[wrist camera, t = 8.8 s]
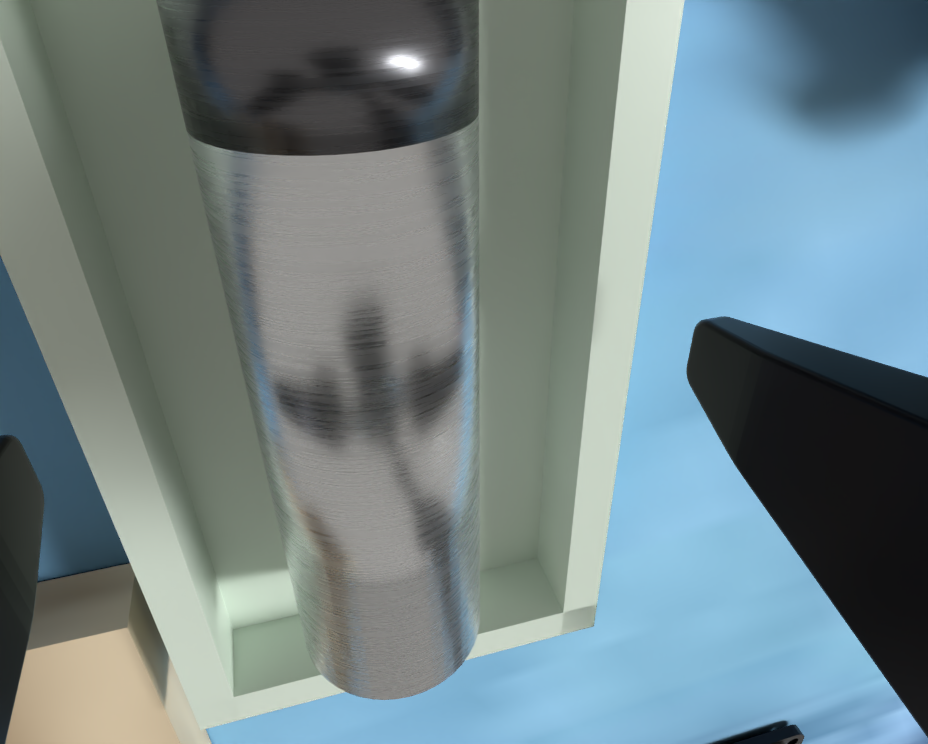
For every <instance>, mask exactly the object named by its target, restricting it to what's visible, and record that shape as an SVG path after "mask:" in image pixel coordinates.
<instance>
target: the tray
mask: <svg viewBox="0 0 928 744" xmlns="http://www.w3.org/2000/svg"><path fill="white" fill-rule="evenodd" d="M683 6H684V0H479V380H480V623H479V630H478V635H477V638H476V641H475V644H474V646H473V648H472V650H471V652H470V654H469V655H468V657H467V658H466V660H468V659H472V658H476V657H479V656H483V655H487V654H491V653H494V652H498V651H502V650H506V649H510V648H513V647H517V646H521V645H525V644H528V643H532V642H536V641H540V640H544V639H547V638H551V637H555V636H559V635H562V634H566V633H570V632H574V631H578V630H581V629H585V628H589V627H593V626H594V621H595V614H596V607H597V600H598V593H599V586H600V579H601V572H602V565H603V558H604V552H605V545H606V538H607V531H608V524H609V517H610V510H611V503H612V496H613V489H614V483H615V476H616V469H617V462H618V455H619V448H620V441H621V434H622V427H623V420H624V414H625V407H626V400H627V393H628V386H629V379H630V372H631V365H632V358H633V351H634V345H635V338H636V331H637V324H638V317H639V310H640V303H641V296H642V289H643V282H644V275H645V269H646V262H647V255H648V248H649V241H650V234H651V227H652V220H653V213H654V206H655V200H656V193H657V186H658V179H659V172H660V165H661V158H662V151H663V144H664V137H665V131H666V124H667V117H668V110H669V103H670V96H671V89H672V82H673V75H674V68H675V62H676V55H677V48H678V41H679V34H680V27H681V20H682V13H683ZM0 255H1V258H2V260H3V262H4V265H5V267H6V269H7V272H8V274H9V277H10V279H11V281H12V284H13V286H14V288H15V291H16V293H17V296H18V298H19V300H20V303H21V305H22V307H23V310H24V312H25V315H26V317H27V319H28V322H29V324H30V326H31V329H32V331H33V334H34V336H35V338H36V341H37V343H38V345H39V348H40V350H41V353H42V355H43V357H44V360H45V362H46V364H47V367H48V369H49V372H50V374H51V376H52V379H53V381H54V383H55V386H56V388H57V391H58V393H59V395H60V398H61V400H62V402H63V405H64V407H65V409H66V412H67V414H68V417H69V419H70V421H71V424H72V426H73V428H74V431H75V433H76V436H77V438H78V440H79V443H80V445H81V447H82V450H83V452H84V455H85V457H86V459H87V462H88V464H89V466H90V469H91V471H92V474H93V476H94V478H95V481H96V483H97V485H98V488H99V490H100V493H101V495H102V497H103V500H104V502H105V504H106V507H107V509H108V512H109V514H110V516H111V519H112V521H113V523H114V526H115V528H116V531H117V533H118V535H119V538H120V540H121V542H122V545H123V547H124V550H125V552H126V554H127V557H128V559H129V561H130V564H131V566H132V569H133V571H134V573H135V576H136V578H137V580H138V583H139V585H140V587H141V590H142V592H143V595H144V597H145V599H146V602H147V604H148V606H149V609H150V611H151V614H152V616H153V618H154V621H155V623H156V625H157V628H158V630H159V633H160V635H161V637H162V640H163V642H164V644H165V647H166V649H167V652H168V654H169V656H170V659H171V661H172V663H173V666H174V668H175V671H176V673H177V675H178V678H179V680H180V682H181V685H182V687H183V690H184V692H185V694H186V697H187V699H188V701H189V704H190V706H191V709H192V711H193V713H194V716H195V718H196V720H197V723H198V725H199V728H200V730H203V729H207V728H211V727H215V726H219V725H222V724H226V723H230V722H234V721H237V720H241V719H245V718H249V717H253V716H256V715H260V714H264V713H268V712H271V711H275V710H279V709H283V708H287V707H290V706H294V705H298V704H302V703H305V702H309V701H313V700H317V699H321V698H324V697H328V696H332V695H336V694H339V693H343V692H345V691H343V690H341V689H339V688H338V687H336V686H335V685H333V684H332V683H330V682H329V681H328V680H327V679H326V678H325V677H324V676H322V675H321V673H320V672H319V671H318V670H317V668H316V667H315V665H314V664H313V662H312V660H311V658H310V656H309V653H308V650H307V647H306V643H305V639H304V634H303V630H302V626H301V621H300V617H299V613H298V608H297V604H296V600H295V595H294V591H293V587H292V583H291V578H290V574H289V570H288V565H287V561H286V557H285V552H284V548H283V544H282V540H281V535H280V531H279V527H278V522H277V518H276V514H275V509H274V505H273V501H272V497H271V492H270V488H269V484H268V479H267V475H266V471H265V466H264V462H263V458H262V454H261V449H260V445H259V441H258V436H257V432H256V428H255V423H254V419H253V415H252V410H251V406H250V402H249V398H248V393H247V389H246V385H245V380H244V376H243V372H242V367H241V363H240V359H239V355H238V350H237V346H236V342H235V337H234V333H233V329H232V324H231V320H230V316H229V312H228V307H227V303H226V299H225V294H224V290H223V286H222V281H221V277H220V273H219V269H218V264H217V260H216V256H215V251H214V247H213V243H212V238H211V234H210V230H209V225H208V221H207V217H206V213H205V208H204V204H203V200H202V195H201V191H200V187H199V182H198V178H197V174H196V170H195V165H194V161H193V157H192V152H191V148H190V144H189V139H188V135H187V131H186V127H185V122H184V118H183V114H182V109H181V105H180V101H179V96H178V92H177V88H176V84H175V79H174V75H173V71H172V66H171V62H170V58H169V53H168V49H167V45H166V40H165V36H164V32H163V28H162V23H161V19H160V15H159V10H158V6H157V2H156V0H0Z"/></svg>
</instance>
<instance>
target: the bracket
mask: <svg viewBox="0 0 928 744" xmlns="http://www.w3.org/2000/svg"><path fill="white" fill-rule="evenodd" d="M5 744H212V743H211V741H210V739H209V736H208V734H207V731H206V729H203V730H200V728H199V725H198V723H197V720H196V718H195V716H194V713H193V711H192V709H191V706H190V704H189V701H188V699H187V697H186V694H185V692H184V690H183V687H182V685H181V682H180V680H179V678H178V675H177V673H176V671H175V668H174V666H173V663H172V661H171V659H170V656H169V654H168V652H167V649H166V647H165V644H164V642H163V640H162V637H161V635H160V633H159V630H158V628H157V625H156V623H155V621H154V618H153V616H152V614H151V611H150V609H149V606H148V604H147V602H146V599H145V597H144V595H143V592H142V590H141V587H140V585H139V583H138V580H137V578H136V576H135V573H134V571H133V569H132V566H131V564H130V563H129V564H124V565H119V566H114V567H110V568H105V569H100V570H95V571H91V572H86V573H81V574H76V575H72V576H67V577H62V578H57V579H53V580H48V581H43V582H38V583H37V591H36V601H35V609H34V617H33V622H32V627H31V632H30V637H29V641H28V646H27V650H26V655H25V659H24V663H23V668H22V672H21V677H20V681H19V685H18V690H17V694H16V699H15V703H14V707H13V712H12V716H11V721H10V725H9V730H8V734H7V738H6V743H5Z"/></svg>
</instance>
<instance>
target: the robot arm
mask: <svg viewBox="0 0 928 744" xmlns="http://www.w3.org/2000/svg"><path fill="white" fill-rule="evenodd" d="M687 378H688V382H689V384H690V386H691V388H692V390H693V392H694V393H695V395H696V397H697V399H698V401H699V402H700V404H701V406H702V408H703V410H704V411H705V413H706V415H707V417H708V419H709V420H710V422H711V424H712V426H713V428H714V429H715V431H716V433H717V435H718V437H719V438H720V440H721V442H722V444H723V445H724V447H725V449H726V451H727V453H728V454H729V456H730V458H731V459H732V461H733V463H734V464H735V466H736V467H737V469H738V470H739V472H740V473H741V475H742V476H743V478H744V479H745V480H746V482H747V483H748V485H749V486H750V488H751V489H752V490H753V492H754V493H755V495H756V496H757V497H758V499H759V500H760V502H761V503H762V504H763V506H764V507H765V509H766V510H767V511H768V513H769V514H770V516H771V517H772V519H773V520H774V521H775V523H776V524H777V526H778V527H779V528H780V530H781V531H782V533H783V534H784V535H785V537H786V538H787V540H788V541H789V543H790V544H791V545H792V547H793V548H794V550H795V551H796V552H797V554H798V555H799V557H800V558H801V559H802V561H803V562H804V564H805V565H806V567H807V568H808V569H809V571H810V572H811V574H812V575H813V576H814V578H815V579H816V581H817V582H818V583H819V585H820V586H821V588H822V589H823V591H824V592H825V593H826V595H827V596H828V598H829V599H830V600H831V602H832V603H833V605H834V606H835V607H836V609H837V610H838V612H839V613H840V615H841V616H842V617H843V619H844V620H845V622H846V623H847V624H848V626H849V627H850V629H851V630H852V631H853V633H854V634H855V636H856V637H857V638H858V640H859V641H860V643H861V644H862V646H863V647H864V648H865V650H866V651H867V653H868V654H869V655H870V657H871V658H872V660H873V661H874V662H875V664H876V665H877V667H878V668H879V670H880V671H881V672H882V674H883V675H884V677H885V678H886V679H887V681H888V682H889V684H890V685H891V686H892V688H893V689H894V691H895V692H896V694H897V695H898V696H899V698H900V699H901V701H902V702H903V703H904V705H905V706H906V708H907V709H908V710H909V712H910V713H911V715H912V716H913V718H914V719H915V720H916V722H917V723H918V725H919V726H920V727H921V729H922V730H923V732H924V733H925V734H926V736H927V737H928V377H925V376H921V375H918V374H915V373H911V372H908V371H905V370H902V369H898V368H895V367H892V366H888V365H885V364H882V363H878V362H875V361H872V360H869V359H865V358H862V357H859V356H855V355H852V354H849V353H846V352H842V351H839V350H836V349H832V348H829V347H826V346H822V345H819V344H816V343H813V342H809V341H806V340H803V339H799V338H796V337H793V336H790V335H786V334H783V333H780V332H776V331H773V330H770V329H766V328H763V327H760V326H757V325H753V324H750V323H747V322H743V321H740V320H737V319H734V318H730V317H717V318H711V319H705V320H701V321H700V322H699V323H698V324H697V325H696V327H695V329H694V333H693V338H692V343H691V348H690V353H689V358H688V363H687ZM43 514H44V494H43V490H42V486H41V484H40V482H39V480H38V478H37V475H36V473H35V471H34V469H33V467H32V465H31V463H30V461H29V459H28V457H27V455H26V453H25V451H24V448H23V446H22V444H21V443H20V441H19V440H18V439H17V438H16V437H14V436H12V435H1V436H0V744H5V743H6V738H7V734H8V730H9V725H10V721H11V716H12V712H13V707H14V703H15V699H16V694H17V690H18V685H19V681H20V677H21V672H22V668H23V663H24V659H25V655H26V650H27V646H28V641H29V637H30V632H31V627H32V622H33V617H34V609H35V601H36V591H37V580H38V569H39V558H40V547H41V536H42V525H43ZM803 739H804V735H803V734H802V732H801V731H800V730H799V728H798V727H797V726H796V725H790V726H786V727H783V728H780V729H777V730H774V731H771V732H768V733H765V734H761V735H758V736H755V737H752V738H749V739H746V740H743V741H740V742H736V743H733V744H801V743H802V741H803Z"/></svg>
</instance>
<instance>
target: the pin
mask: <svg viewBox="0 0 928 744" xmlns="http://www.w3.org/2000/svg"><path fill="white" fill-rule="evenodd" d="M156 2H157V6H158V10H159V15H160V19H161V23H162V28H163V32H164V36H165V40H166V45H167V49H168V53H169V58H170V62H171V66H172V71H173V75H174V79H175V84H176V88H177V92H178V96H179V101H180V105H181V109H182V114H183V118H184V122H185V127H186V131H187V135H188V139H189V144H190V148H191V152H192V157H193V161H194V165H195V170H196V174H197V178H198V182H199V187H200V191H201V195H202V200H203V204H204V208H205V213H206V217H207V221H208V225H209V230H210V234H211V238H212V243H213V247H214V251H215V256H216V260H217V264H218V269H219V273H220V277H221V281H222V286H223V290H224V294H225V299H226V303H227V307H228V312H229V316H230V320H231V324H232V329H233V333H234V337H235V342H236V346H237V350H238V355H239V359H240V363H241V367H242V372H243V376H244V380H245V385H246V389H247V393H248V398H249V402H250V406H251V410H252V415H253V419H254V423H255V428H256V432H257V436H258V441H259V445H260V449H261V454H262V458H263V462H264V466H265V471H266V475H267V479H268V484H269V488H270V492H271V497H272V501H273V505H274V509H275V514H276V518H277V522H278V527H279V531H280V535H281V540H282V544H283V548H284V552H285V557H286V561H287V565H288V570H289V574H290V578H291V583H292V587H293V591H294V595H295V600H296V604H297V608H298V613H299V617H300V621H301V626H302V630H303V634H304V639H305V643H306V647H307V650H308V653H309V656H310V658H311V660H312V662H313V664H314V665H315V667H316V668H317V670H318V671H319V672H320V673H321V675H322V676H324V677H325V678H326V679H327V680H328V681H329V682H330V683H332V684H333V685H335V686H336V687H338V688H339V689H341V690H343V691H345V692H347V693H350V694H353V695H356V696H359V697H364V698H369V699H380V700H389V699H400V698H405V697H410V696H413V695H416V694H419V693H422V692H424V691H427V690H429V689H431V688H433V687H435V686H436V685H438V684H440V683H441V682H443V681H444V680H446V679H447V678H448V677H449V676H451V675H452V674H453V673H454V672H455V671H456V670H457V669H458V668H459V667H460V666H461V665H462V664H463V662H464V661H465V660H466V658H467V657H468V655H469V654H470V652H471V650H472V648H473V646H474V644H475V641H476V638H477V635H478V630H479V623H480V380H479V0H156Z"/></svg>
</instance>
